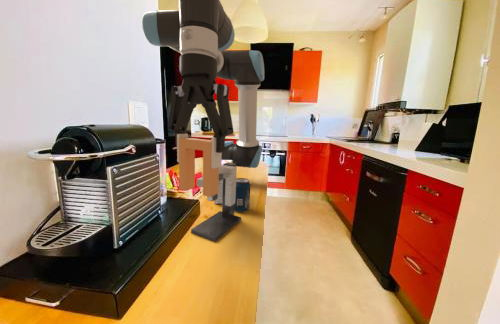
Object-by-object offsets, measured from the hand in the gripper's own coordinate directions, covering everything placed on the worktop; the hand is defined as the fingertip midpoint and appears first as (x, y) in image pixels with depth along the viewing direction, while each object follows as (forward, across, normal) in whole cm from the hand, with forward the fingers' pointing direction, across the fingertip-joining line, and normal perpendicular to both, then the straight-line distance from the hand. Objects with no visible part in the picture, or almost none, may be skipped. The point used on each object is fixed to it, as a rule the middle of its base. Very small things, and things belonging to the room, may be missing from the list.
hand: (198, 164), depth 46 cm
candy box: (+24, -17, +36) cm, 47 cm away
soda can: (+24, -5, +30) cm, 39 cm away
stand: (+24, -5, +15) cm, 29 cm away
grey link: (+16, -5, +17) cm, 24 cm away
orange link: (+6, 0, 0) cm, 6 cm away
